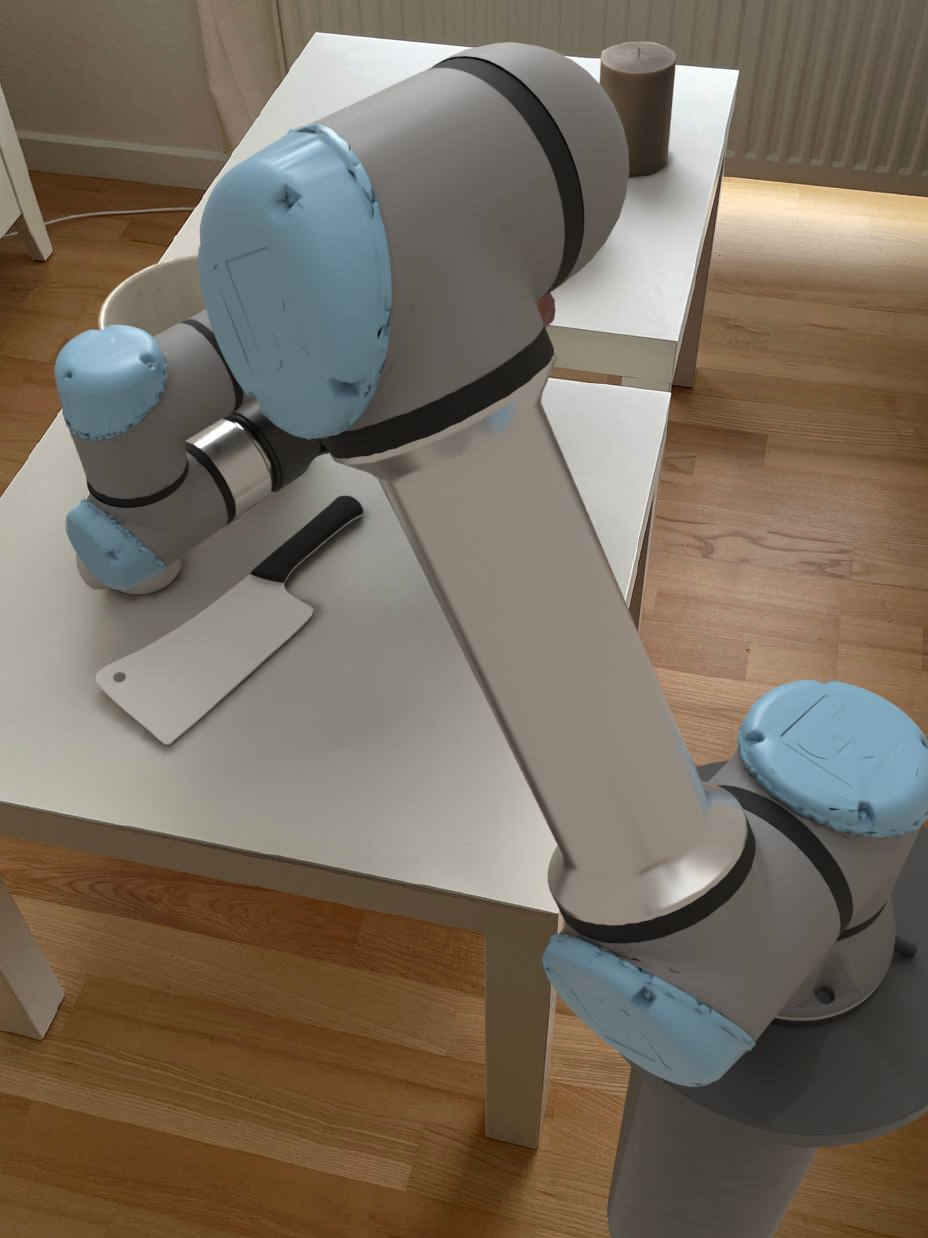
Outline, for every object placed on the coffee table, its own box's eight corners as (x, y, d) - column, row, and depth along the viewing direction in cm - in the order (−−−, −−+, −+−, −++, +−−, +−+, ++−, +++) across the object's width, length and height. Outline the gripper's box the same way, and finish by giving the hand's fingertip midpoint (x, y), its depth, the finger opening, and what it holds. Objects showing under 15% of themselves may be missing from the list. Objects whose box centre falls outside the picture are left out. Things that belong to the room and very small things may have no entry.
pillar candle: (659, 180, 164) (669, 66, 153) (587, 171, 166) (592, 58, 155) (674, 145, 170) (685, 33, 159) (604, 137, 172) (610, 26, 161)
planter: (181, 374, 139) (149, 241, 126) (345, 398, 135) (329, 263, 123) (104, 487, 126) (61, 352, 114) (283, 517, 123) (257, 380, 110)
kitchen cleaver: (165, 741, 103) (85, 675, 107) (168, 752, 105) (88, 687, 108) (410, 533, 119) (333, 482, 123) (410, 545, 121) (333, 494, 124)
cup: (199, 563, 119) (180, 493, 112) (119, 626, 113) (95, 557, 107) (147, 532, 122) (126, 462, 115) (68, 592, 116) (41, 523, 110)
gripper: (178, 440, 109) (366, 323, 120) (335, 546, 99) (524, 408, 110) (160, 369, 103) (358, 254, 114) (325, 474, 94) (524, 337, 105)
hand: (439, 330), depth 112 cm, fingers closed on food, 7 cm apart
